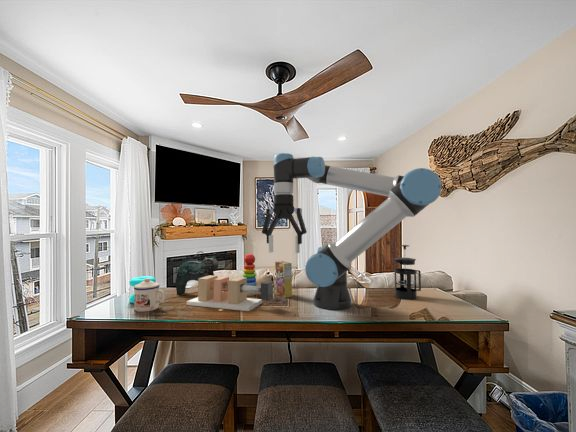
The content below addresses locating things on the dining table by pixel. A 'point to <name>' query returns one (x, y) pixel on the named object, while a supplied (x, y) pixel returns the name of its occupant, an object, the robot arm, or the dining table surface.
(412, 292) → the french press
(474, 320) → the dining table surface
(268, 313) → the dining table surface
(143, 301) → the teacup with lid
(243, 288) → the shaft
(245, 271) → the stacking toy
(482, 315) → the dining table surface
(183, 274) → the dark teal curved piece
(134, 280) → the donuts
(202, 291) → the shaft bracket
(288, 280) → the candy box
